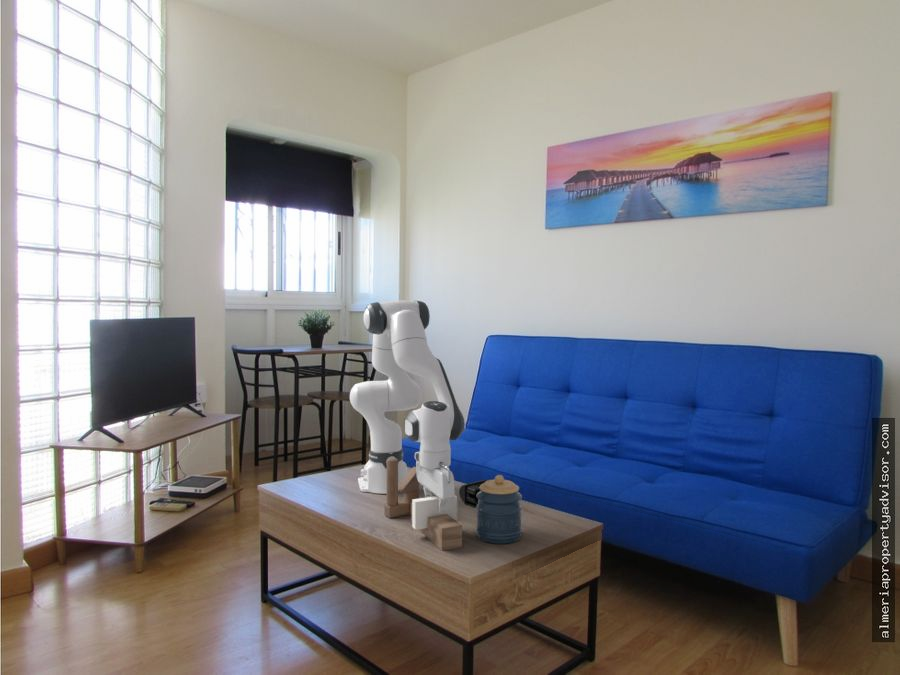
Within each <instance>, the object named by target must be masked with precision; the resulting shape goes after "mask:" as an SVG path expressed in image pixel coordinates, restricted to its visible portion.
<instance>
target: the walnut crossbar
mask: <svg viewBox="0 0 900 675" xmlns="http://www.w3.org/2000/svg"><path fill="white" fill-rule="evenodd" d="M410 523H411V524H412V502H411V514H410ZM418 530H419V531H420V532H422V534H423V535H425V536H426V537H427V538H428V539H429V541H431V542H432V543H433V544H434V545H435V546H436V547H437V548H439V549H440V550H441V551H447V550H452V549H457V548H462V547H463V525H462V524H461V523H460V522H458V520H457V521H456V520H454V519H453V518H452V517H451V516H449V515H448V514H445V515H438V516H431V517H428V528H424V529H418Z"/></svg>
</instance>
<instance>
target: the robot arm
mask: <svg viewBox="0 0 900 675" xmlns="http://www.w3.org/2000/svg"><path fill="white" fill-rule="evenodd" d="M430 316H431V315H430V310H429V306H428V305H427V304H426V303H425V302H424V301H421V300H403V299H401V300H398V299H396V300H391V301H390V300H389V301H381V302H378V301H376V302H371V303H369V304H367V306H366V307H365V309H364V312H363V324H364V327H365V329H366V331H367V332H368V333H370V334H372V344H371V345H372V350H371V351H372V352H371V365H372V367H373V368H374V369H375V370H376V371H377V372H378V373H381V374H383V375H385V376H386V377H388V379H386V380H366V381H362V382H357V383H355V384H354V385H353V386H352V387H351V389H350V392H349V402H350V404H351V406H352V407H353V409H354V410H355V411H356V412H358V413H359V414H360V415H362V417H363V418H364V419H365V421H366V423H367V426H368V428H369V436H370V449H369V453H368V461H367V462H366V463H365V465H364V468H361V469H360V476H361V477H358V478H357V483H358V486H359V491H361V492H363V493H372V494H383V495H384V494H386V495H387V459H389V458H396V459H398V486H399V485H400V483H401V482H402V481H403V480H404V478H405V477H406V476H407V474H408V470H407V469H408V468H407V466H408V465H407V463H406V462H405V461H403V459H404V450H403V447H402V446H403V445H402V443H403V442H402V441H403V440H402V438H403V436H402V435H403V434H402V432H403V431H402V428H401V426H400V425H399V424H398V423H397V422H395V421H394V420H391V419H389V418H387V417H386V416H385V413H386V412H401V411H402V412H403V411H409V410H411V411H409V412H408V413H407V415H406V416H405V417H404V419H403V430H404V435H405V437H406V438H407V439H408V440H409V441H411V442H415V443H420V446H419V451H417V452H414V459H415V461H416V462H415V467H416V473H417V480H418V482H419V485H421V486H422V487H423V493H424V498H427V497H434V496H433V494H434V495H435V496H438V497H439V500H440V501H439V505H438V511H440V512H445V505H446V503H447V501H448V500H449V499H453V498H454V495H456V494H455V493H456V492H455V490H456V489H455V476H454V474H453V472H452V471H451V469H450V466H451V458H452V457H451V456H452V455H451V453H452V449H451V444H450V441H456V440H458V438H459V437H460V436H461V435H462V433H463V432H464V430H465V426H466V425H465V424H466V423H465V419H464V415H463V413H462V411H461V409H460V407H459V405H458V404H457V400H456V398H455V395H454V392H453V390H452V387H451V383H450V380H449V378H448V376H447V373H446V371H445V368H444V366H443V363H442V361H441V360H440V359H439V358H437V357H436V356H435V355H434V354H433V352H432V351H431V349H430V347H429V344H428V341H427V340H428V339H427V336H426V331H425V330H426V329H427V328H428V326H429V325H430V324H429V323H430V320H431V319H430V318H431V317H430ZM409 374H412V375H416V376H418V377H421V378H423V379H425V380H426V381H428V382H430V384H431V385H432V387H433V389H434V393H435V395H436V399H437V401H436V400H430V401H426V402H423V403H422V404H421V402H422V399H423V392H422V388H421V387H420V384H418V382H417V381H415V380H413V379H412V378H411V377H410V375H409ZM420 404H421V407H420V408H418V407H419V405H420ZM417 408H418V409H417ZM412 409H415V410H412ZM432 493H433V494H432Z"/></svg>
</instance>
